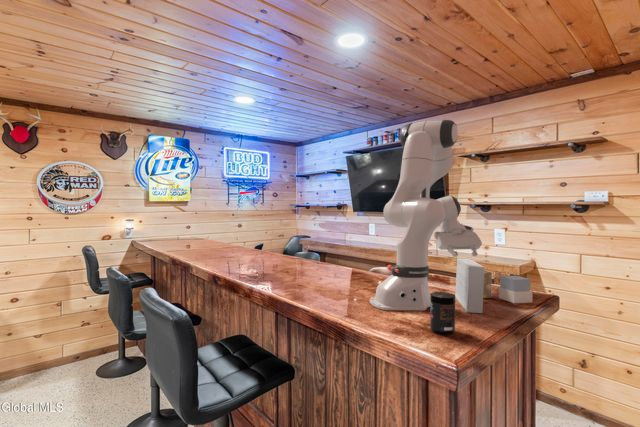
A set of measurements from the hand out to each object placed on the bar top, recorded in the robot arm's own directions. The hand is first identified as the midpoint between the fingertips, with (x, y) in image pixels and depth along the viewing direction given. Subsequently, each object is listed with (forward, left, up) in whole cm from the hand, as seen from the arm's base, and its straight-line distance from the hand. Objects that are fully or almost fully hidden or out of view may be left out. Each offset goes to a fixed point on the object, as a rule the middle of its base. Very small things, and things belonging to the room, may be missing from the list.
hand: (465, 255), depth 145 cm
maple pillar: (0, -11, -15) cm, 19 cm away
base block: (+9, -18, -15) cm, 25 cm away
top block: (+9, -18, -11) cm, 23 cm away
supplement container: (-37, -44, -15) cm, 59 cm away
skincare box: (-13, -21, -15) cm, 29 cm away
